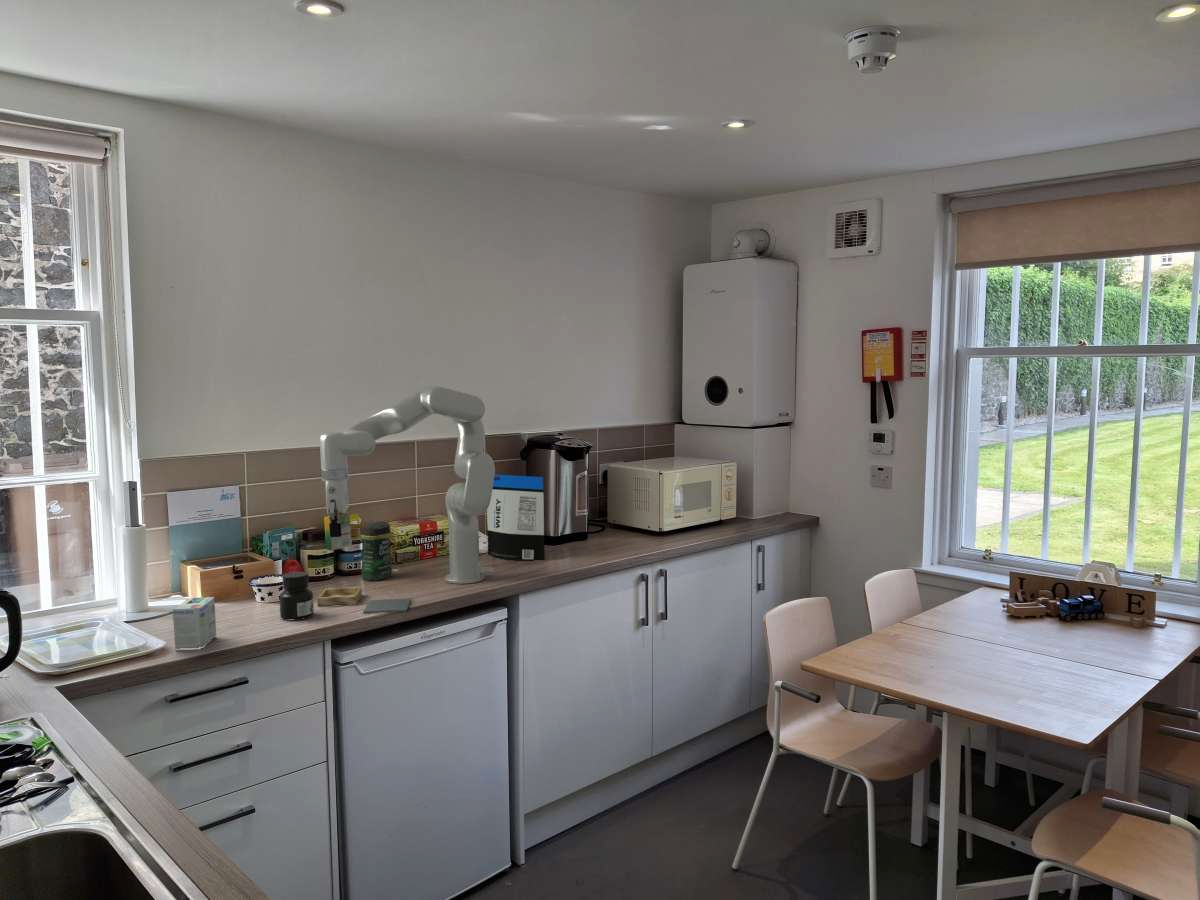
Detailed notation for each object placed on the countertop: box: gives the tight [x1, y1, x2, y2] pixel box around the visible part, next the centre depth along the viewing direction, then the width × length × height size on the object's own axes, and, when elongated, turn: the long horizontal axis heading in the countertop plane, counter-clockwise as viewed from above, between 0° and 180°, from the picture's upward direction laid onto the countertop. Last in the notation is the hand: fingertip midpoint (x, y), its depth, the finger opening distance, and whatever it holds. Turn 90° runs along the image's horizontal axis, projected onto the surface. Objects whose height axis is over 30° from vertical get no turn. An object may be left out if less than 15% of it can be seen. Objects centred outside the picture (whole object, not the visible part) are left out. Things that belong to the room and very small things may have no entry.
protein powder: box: [486, 474, 546, 562], centre depth 311 cm, size 10×24×30 cm, turn 63°
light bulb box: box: [172, 596, 217, 650], centre depth 218 cm, size 11×7×11 cm, turn 5°
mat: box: [362, 598, 412, 614], centre depth 250 cm, size 12×12×1 cm
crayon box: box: [323, 507, 353, 551], centre depth 255 cm, size 7×3×12 cm, turn 145°
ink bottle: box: [279, 571, 315, 620], centre depth 240 cm, size 10×9×12 cm
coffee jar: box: [360, 521, 393, 582], centre depth 283 cm, size 10×8×19 cm
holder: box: [316, 586, 363, 607], centre depth 257 cm, size 11×11×2 cm
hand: (338, 533), depth 255 cm, fingers closed on crayon box, 7 cm apart
